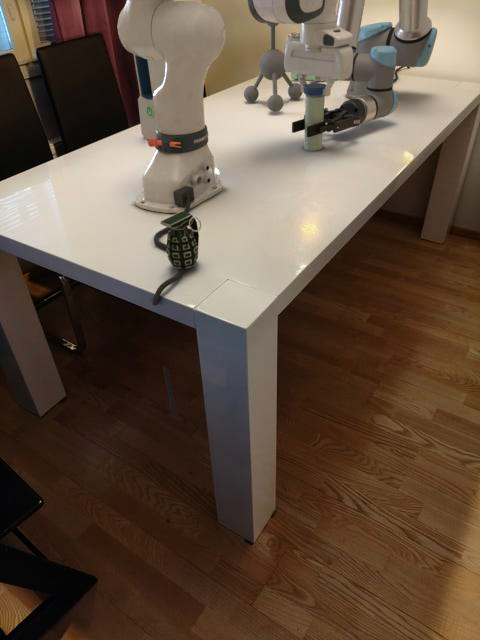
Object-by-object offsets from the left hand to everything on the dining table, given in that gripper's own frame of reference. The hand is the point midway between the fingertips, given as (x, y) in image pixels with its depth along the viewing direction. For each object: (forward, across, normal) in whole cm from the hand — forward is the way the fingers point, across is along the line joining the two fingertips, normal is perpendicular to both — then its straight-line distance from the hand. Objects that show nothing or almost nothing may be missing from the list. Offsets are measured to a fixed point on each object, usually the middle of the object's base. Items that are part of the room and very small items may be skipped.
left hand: (315, 93), depth 131 cm
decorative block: (+14, -57, +73) cm, 93 cm away
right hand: (+8, 0, -5) cm, 10 cm away
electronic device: (+14, -42, -22) cm, 50 cm away
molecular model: (+14, -40, +29) cm, 51 cm away
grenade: (+14, +23, -66) cm, 71 cm away
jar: (+14, 0, 0) cm, 14 cm away
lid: (-2, 0, 0) cm, 2 cm away
